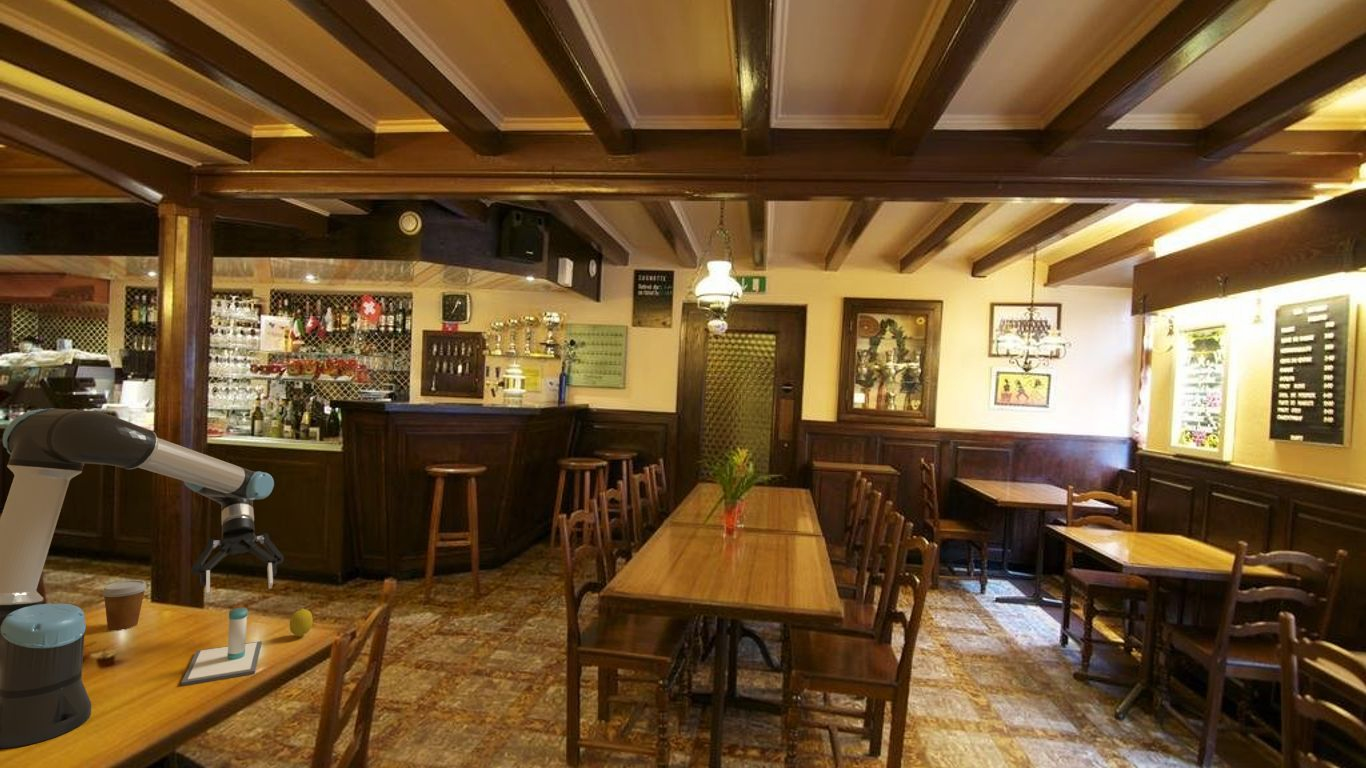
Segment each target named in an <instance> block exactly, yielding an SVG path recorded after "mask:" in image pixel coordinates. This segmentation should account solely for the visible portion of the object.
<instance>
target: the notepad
mask: <svg viewBox="0 0 1366 768" xmlns="http://www.w3.org/2000/svg"><path fill="white" fill-rule="evenodd" d="M262 642H263V641H262V640H260V641H252V642H245V655H244V656H243V657H242V658H239V659H235V660H230V659H228V658H227V655H228V645H225V646H219V647H212V648H206V649H198V650H196V651H195V653H194V654H193V657H192V660H190V661H191V662H190V664H189V665H188V667H187V670H186V672H185V674H184V676H183V678H182V680H181V682H180V683H181V684H180V686H181V687H183V686H190V685H191V686H192V685H196V684H202V683H206V682H207V683H208V682H213V681H214V682H215V681H220V680H226V679H232V678H238V677H243V676H249V675H255V673H256V670H257V665H258V660H259V656H260V653H261V647H262Z"/></svg>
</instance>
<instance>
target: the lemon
mask: <svg viewBox="0 0 1366 768" xmlns="http://www.w3.org/2000/svg"><path fill="white" fill-rule="evenodd" d="M313 619H314V618H313V614H312V612H311V611H310V610H308V609H305V608H303V607H302V608H300V609H299V610H297V611H295V612H294V613H292V615H291V617H290V620H289V629H290V630H289V631H290V633H292V634H293V635H294V636H297V637H298V638H303V636H305V635H306V634H308V632H310V630H311V629H312V626H313V623H314V622H313V621H314V620H313Z"/></svg>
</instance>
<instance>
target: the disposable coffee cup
mask: <svg viewBox="0 0 1366 768" xmlns="http://www.w3.org/2000/svg"><path fill="white" fill-rule="evenodd" d="M147 588H148V585H147V584H146V581H145V580H141V579H139V580H138V579H136V580H135V579H134V580H124V581H118V582H113V583H110V584H107V585H106V586H104V588H103V590H102V592H101V594H102V596H103V599H104V608H105V616H106V624H107V625H106V626H107V631H111V630H117V631H123V630H122V629H124V630H127V628H129V629H131V627H132V628H134V627H136V626H138V624H139V619H140V614H141V609H142V604H143V600H144V595H145V591H146V589H147ZM133 626H134V627H133Z"/></svg>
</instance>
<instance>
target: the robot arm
mask: <svg viewBox="0 0 1366 768" xmlns="http://www.w3.org/2000/svg"><path fill="white" fill-rule="evenodd" d="M2 445H3V448H5V449H6V452H7V453H8V454H9V455H10V456H9V459H8V462H7V465H6V467H7V468H8V469H9V470H10V471H11V472H12V473H13V475H14V477H13V480H12V483H11V486H10V488H9V492H8V495H7V499H6V501H5V503H4V507H3V510H2V513H1V515H0V749H7V748H17V747H22V746H27V745H31V744H32V745H33V744H36V743H40V742H43V741H48V740H51V739H53V738H56V737H59V736H61V735H64V734H66V733H68V732H71V731H73V730H75V729H76V728H78V727H80V726H81V725H83V724H84V723H86V722H87V721H88V720H89V719H90V718H91V716H92V701H91V699H90V696H89V694H88V692H87V690H86V687H85V685H84V682H83V678H82V673H83V661H84V660H83V659H84V646H85V645H84V643H85V631H86V630H87V629H86V628H87V625H86V619H85V612H84V610H83V609H82V608H81V607H79V606H77V605H74V604H71V603H70V604H68V603H53V604H51V603H43V602H44V596H42V595H41V594H40V593H39V592H38V591H37V589H38V585H39V582H40V581H41V580H40V579H41V576H42V574H43V573H42V572H43V569H44V566H45V564H46V563H45V562H46V559H47V557H48V554H49V549H50V547H51V542H52V539H53V537H54V534H55V530H56V526H57V523H58V520H59V516H60V513H61V512H62V511H61V509H62V508H63V504H64V501H65V497H66V495H67V494H66V493H67V490H68V488H69V485H70V481H71V480H72V479H73V478H75V477H76V476H78V475H80V474H82V472H83V470H84V466H85V464H89V465H90V464H91V465H92V464H93V465H107V466H113V467H118V468H122V469H126V470H135V469H137V468H139V469H142V470H146V471H149V472H152V473H156V474H158V475H161V476H166V477H170V478H173V479H177V480H179V481H183V483H184V486H185V487H187V488H189V489H190V490H192V491H193V492H194V493H197V494H199V495H201V496H204V497H206V498H208V499H210V500H212V501H214V502H216V503H218V504H220V505H221V507H220V508H221V509H220V511H221V539H220V540H219V539H218V540H217V539H216V540H215V539H214V538H209V539H208V540H207V545H206V546H205V548H204V550H203V551H202V553H200V556H198V558H197V560H196V561H195V563H194V564H193V566H192V567H191V575H199V580H200V581H199V584H200V586H201V587H202V586H205V599H209V598H210V596H211V595H210V594H211V570H213V568H215V566H216V565H218V563H219V562H220V561H222V560H223V558H225V557H226V556H228V555H229V554H230V555H236V554H246V553H247V552H248V553H249V554H251V555H254V556H255V557H257V558H258V559H259V560H261V561H263V562H264V563H266V565H267V570H266V571H267V583H268V589H269V590H270V589H273V584H274V577H276V576H277V572H278V567H277V566H278V565H281V564H283V561H284V559H285V556H284V555H283V554H282V553H281V551H280V549H278V548H277V547H276V545H275V544H274V543H273V541H272V540H271V539H270V536H269V533H267V532H265V533H263V534H262V535H257V534H255V531H256V530H255V514H254V513H255V512H254V500H265V499H266V498H267V497H269V496H270V494H271V493H272V491H273V489H274V487H275V481H274V478H273V477H272V475H271V474H269V473H268V472H263V471H259V470H258V471H253V470H250V469H247V468H245V467H242V466H238V465H235V464H233V463H230V462H226V461H224V460H221V459H218V458H217V457H213V456H210V455H208V454H204V453H201V452H199V451H196V450H194V449H191V448H188V447H184V446H182V445H179V444H176V443H174V442H170V441H167V440H166V439H163V438H159V437H158V436H157V433H156V432H154V431H153V430H151V429H148V428H145V427H142V426H139V425H138V424H135V423H133V422H130V421H127V420H125V419H122V418H119V417H117V416H113V415H111V414H107V413H105V412H102V411H97V410H81V409H80V410H78V409H67V408H66V409H64V408H43V409H41V408H40V409H35V410H30V411H27V412H25V413H23V414H21V415H18V416H17V417H15V418H14V419H13V420H11V422H9V424H8V425H7V426H6V428H5V429H4V431H3V433H2ZM257 542H259V543H260V544H261V545H263V546H264V548H265V549H266V550H267V551H265V550H264V549H262V547H259V545H258V544H257ZM217 546H219V547H220V550H219V551H218V552H217V553H216V554H215V555H214V556H212V557H211V559H209V560H208V558H209V557H210V555H211V553H212V551H213V550H214V549H216V548H217ZM206 560H208V561H207V562H206ZM205 562H206V563H205Z"/></svg>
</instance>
